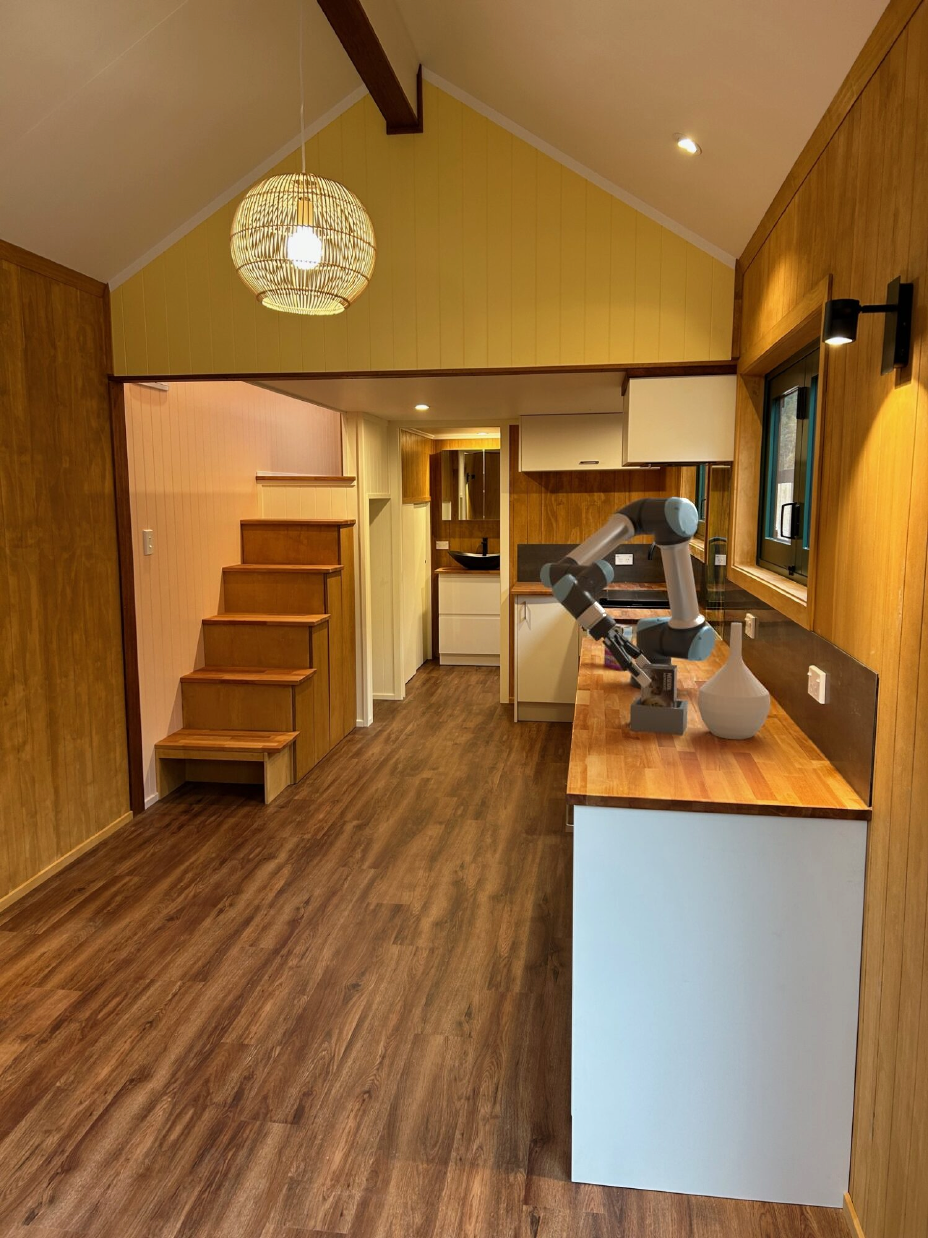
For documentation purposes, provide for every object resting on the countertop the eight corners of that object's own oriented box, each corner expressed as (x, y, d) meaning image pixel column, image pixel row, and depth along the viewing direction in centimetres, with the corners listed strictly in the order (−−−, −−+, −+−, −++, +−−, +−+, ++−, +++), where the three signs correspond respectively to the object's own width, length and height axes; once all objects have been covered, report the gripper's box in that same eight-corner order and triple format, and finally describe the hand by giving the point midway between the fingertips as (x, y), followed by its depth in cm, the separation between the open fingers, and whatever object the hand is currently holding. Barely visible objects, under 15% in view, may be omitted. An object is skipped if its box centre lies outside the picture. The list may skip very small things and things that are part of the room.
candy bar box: (632, 670, 316) (633, 626, 314) (621, 671, 314) (622, 627, 312) (614, 665, 326) (615, 622, 324) (603, 666, 324) (604, 623, 322)
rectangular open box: (636, 721, 241) (636, 696, 240) (686, 725, 237) (687, 700, 236) (630, 730, 231) (630, 705, 230) (682, 735, 226) (683, 709, 226)
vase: (745, 724, 238) (749, 617, 234) (783, 742, 220) (788, 627, 216) (684, 728, 234) (687, 619, 230) (717, 746, 216) (722, 629, 212)
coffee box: (676, 722, 236) (678, 664, 233) (673, 728, 230) (675, 669, 227) (643, 719, 239) (644, 662, 237) (639, 725, 233) (640, 667, 231)
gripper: (595, 625, 248) (646, 679, 245) (578, 638, 225) (634, 698, 222) (614, 607, 246) (666, 662, 243) (598, 618, 223) (655, 679, 220)
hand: (651, 679), depth 232 cm, fingers open, 13 cm apart
